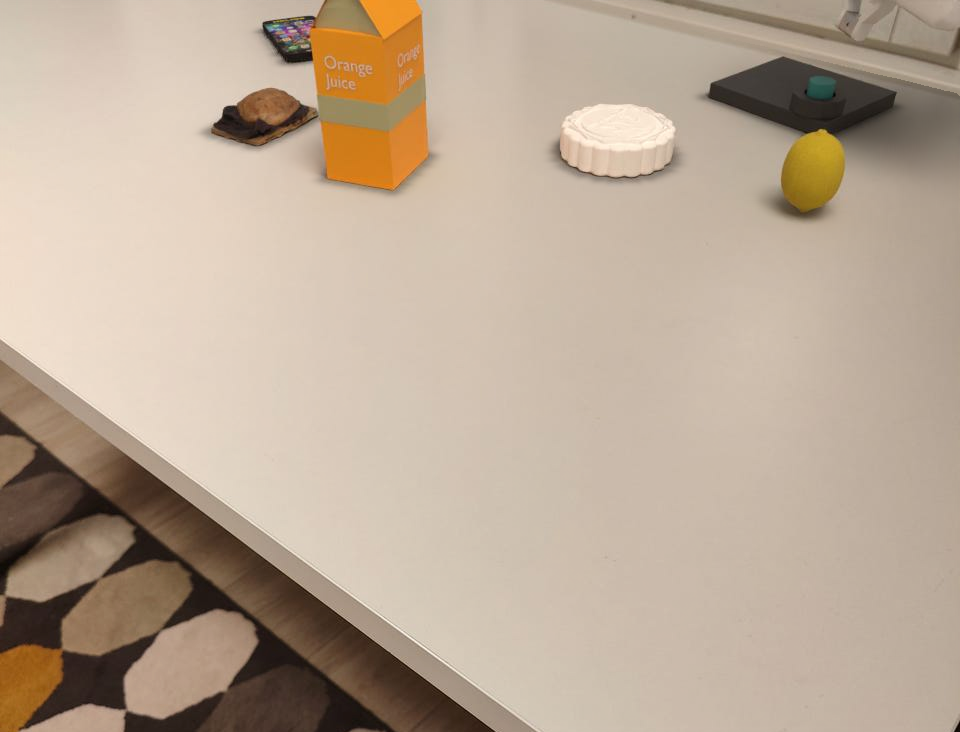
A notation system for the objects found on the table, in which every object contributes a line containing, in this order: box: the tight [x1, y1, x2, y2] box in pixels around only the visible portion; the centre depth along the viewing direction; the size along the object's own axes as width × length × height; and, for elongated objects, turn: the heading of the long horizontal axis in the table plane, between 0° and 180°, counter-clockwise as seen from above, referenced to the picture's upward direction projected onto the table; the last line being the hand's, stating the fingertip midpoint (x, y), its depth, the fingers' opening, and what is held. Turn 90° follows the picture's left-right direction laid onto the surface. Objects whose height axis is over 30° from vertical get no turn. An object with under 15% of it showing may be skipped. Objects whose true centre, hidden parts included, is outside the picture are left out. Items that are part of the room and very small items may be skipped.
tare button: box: [806, 76, 836, 99], centre depth 104 cm, size 3×3×2 cm
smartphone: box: [261, 15, 317, 62], centre depth 128 cm, size 8×1×15 cm
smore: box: [210, 87, 319, 147], centre depth 107 cm, size 11×8×4 cm
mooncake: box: [559, 103, 677, 178], centre depth 100 cm, size 12×12×4 cm
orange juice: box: [309, 0, 429, 191], centre depth 92 cm, size 8×9×20 cm
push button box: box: [708, 55, 898, 135], centre depth 110 cm, size 16×14×4 cm
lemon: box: [780, 129, 846, 214], centre depth 88 cm, size 6×6×8 cm
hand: (848, 34), depth 93 cm, fingers closed
